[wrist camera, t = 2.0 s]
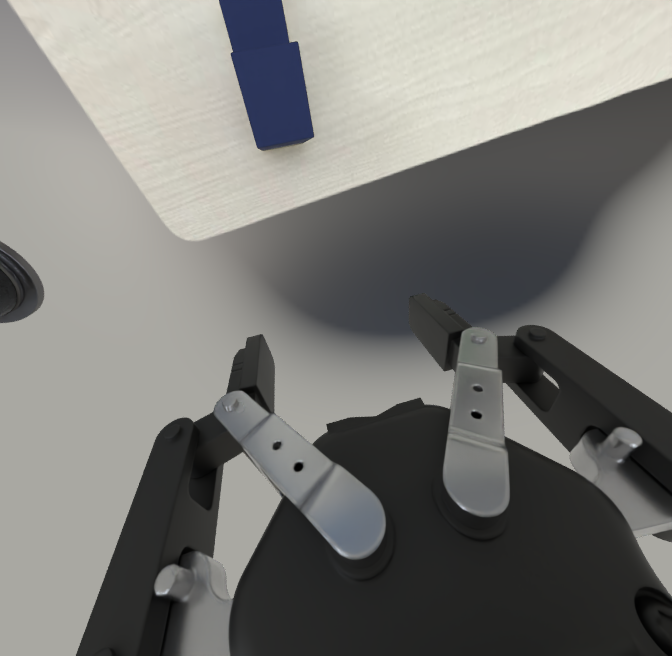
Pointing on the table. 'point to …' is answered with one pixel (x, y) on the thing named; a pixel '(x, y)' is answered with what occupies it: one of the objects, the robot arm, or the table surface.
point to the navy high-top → (268, 72)
